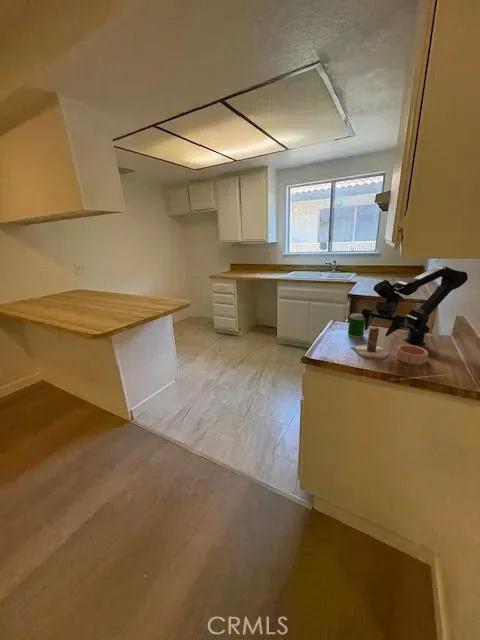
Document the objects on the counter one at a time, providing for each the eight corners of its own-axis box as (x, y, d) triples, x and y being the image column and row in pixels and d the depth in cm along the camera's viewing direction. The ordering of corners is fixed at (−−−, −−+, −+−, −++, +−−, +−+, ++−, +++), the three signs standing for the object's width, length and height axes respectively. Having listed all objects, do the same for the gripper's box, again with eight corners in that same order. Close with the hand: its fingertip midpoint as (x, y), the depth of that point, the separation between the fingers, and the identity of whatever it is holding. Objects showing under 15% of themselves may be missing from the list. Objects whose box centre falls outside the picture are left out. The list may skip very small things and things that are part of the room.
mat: (349, 348, 125) (349, 347, 125) (375, 346, 126) (375, 345, 126) (365, 361, 112) (365, 360, 112) (393, 359, 114) (393, 357, 114)
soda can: (361, 340, 134) (364, 317, 130) (345, 337, 138) (348, 315, 134) (364, 335, 139) (367, 314, 135) (350, 332, 144) (352, 311, 140)
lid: (349, 347, 125) (352, 324, 121) (375, 345, 126) (379, 322, 122) (365, 360, 112) (369, 334, 109) (393, 357, 114) (398, 332, 110)
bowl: (389, 354, 118) (391, 345, 116) (412, 352, 119) (414, 343, 118) (407, 366, 107) (409, 356, 106) (432, 364, 109) (434, 354, 107)
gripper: (365, 291, 122) (350, 318, 119) (410, 298, 109) (394, 329, 106) (371, 304, 130) (357, 330, 127) (414, 312, 116) (399, 342, 113)
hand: (375, 333), depth 118 cm, fingers open, 9 cm apart
